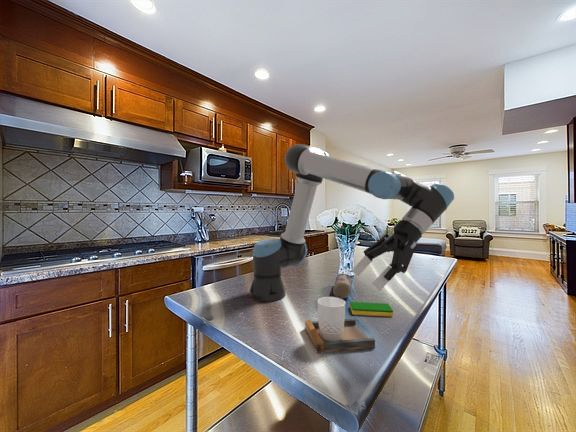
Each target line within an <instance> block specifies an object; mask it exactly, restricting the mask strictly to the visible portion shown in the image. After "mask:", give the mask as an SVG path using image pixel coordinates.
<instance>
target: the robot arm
mask: <svg viewBox="0 0 576 432" xmlns="http://www.w3.org/2000/svg"><path fill="white" fill-rule="evenodd" d="M284 163H285V166H286V167H287V169H288V170H289V172H290V171H291V172H292V173H294V174H295V179H296V180H297V183H296V187H295V190H294V194H293V195H294V196H293V198H292V199H293V200H292V203H291V207H290V211H289V215H288V219H287V224H286V227H285V231H284V232H282V233H281V234H280V238H279V239H277V238H270V239H262V240H259V241H256V242H255V244H254V246H253V254H252V255H253V279H252V282H251V285H250V289H249V298H250V299H251V298H252V300H253V299H254V301H256V302H258V301H259V302H274V301H279V300H282V299H283V298H285V297H286V288H285V285H284V283H283V279H282V269H284V268H287V267H291V266H297V265H298V264H301V263H302V262H303V261H304V260H305V259H306V258H307V255H308V247H307V244H306V239H305V237H304V236H305V231H306V228H307V224H308V221H309V218H310V214H311V209H312V206H313V203H314V199H315V195H316V192H317V188H318V186H320V185H321V184H322V182H323V179H324V180H328V181H331V182H332V183H333V182H334V183H337V184H339V185H343V186H346V187H349V188H352V189H355V190H357V191H358V190H359V191H361V192H364V193H367V194H370V195H372V196H374V197H375V198H377V199H382V200H399V201H401V202H403V203H405V204H406V205H408V206H409V207H410V209H409V210H408V211H407V212H406V213H405V214H404V215H403V217H402V218H401V219H400V220H399V221H398V222H397V223H396V224H395V225H394V227H393V234H392V235H389V233H385V234H384V235H383V236H382V237H381V238H379V240H377V241H376V242H374V243H372V245H370V246H368V247H367V248H366V249H365V250H363V254H364V256H363V257H362V258H361V259H360V260H359V262H357V264H356V265H355V266H354V267H353V268H352V270H351V271H352V272H353V273H354V274H355V276H357V277H359V276H360V275H361V274H362V273H363V272H364V271H365V270H366V269H367V267H368V266H369V265H370V264H371V263H372V262H373V259H375V258H377V257H380V256H381V255H383V254H386V253H390V252H393V255H392V259H391V263H389V264H388V265H387V266H386V268H385V269H383V271H382V272H381V273H380V274H379V276H378V277H376V278H375V280H374V281H372V283H371V284H372V285H373V286H374V287H375V288H376V289H377V290H378V291H380V292H381V291H382V290H383V289H384V287H385V286H386V285H387V284H388V283H389V282H390V281H392V279H393V278H394V277H395V276H396V275H397V274H398V273H402V274H406V272H407V270H408V268H409V265H410V263H411V260H412V257H413V255H414V252H415V251H416V250H417V248H418V247H419V245H418V244H417V243H418V241H420V239H421V238H422V237H423V235H425V233H426V232H428V230H429V228H430V227H431V226H432V225H434V223H435V222H436V221H437V220H438V219H439V218H440V217H441V215H443V214H444V212H445V211H447V209H448V207H449V206H450V205H451V204H452V203H453V201H454V199H455V194H454V192H453V190H452V189H451V188H450V187H448V186H447V185H445V184H444V183H438V182H436V183H433V184H432V185H430V186H428V185H425V184H422V183H421V182H419V181H416V180H415V179H413V178H411V177H409V176H407V175H406V174H404V173H401V172H398V171H392V172H391V171H387V170H383V169H377V168H374V167H370V166H366V165H362V164H359V163H355V162H351V161H347V160H343V159H340V158H335V157H332V156H330V154H329V153H328V152H327V151H325V150H324V149H321V148H319V147H313V146H310V145H306V144H303V143H302V144H301V143H296V144H293V145H292V146H290V147H289V148H288V149H287V151H286V152H285V155H284Z"/></svg>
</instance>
